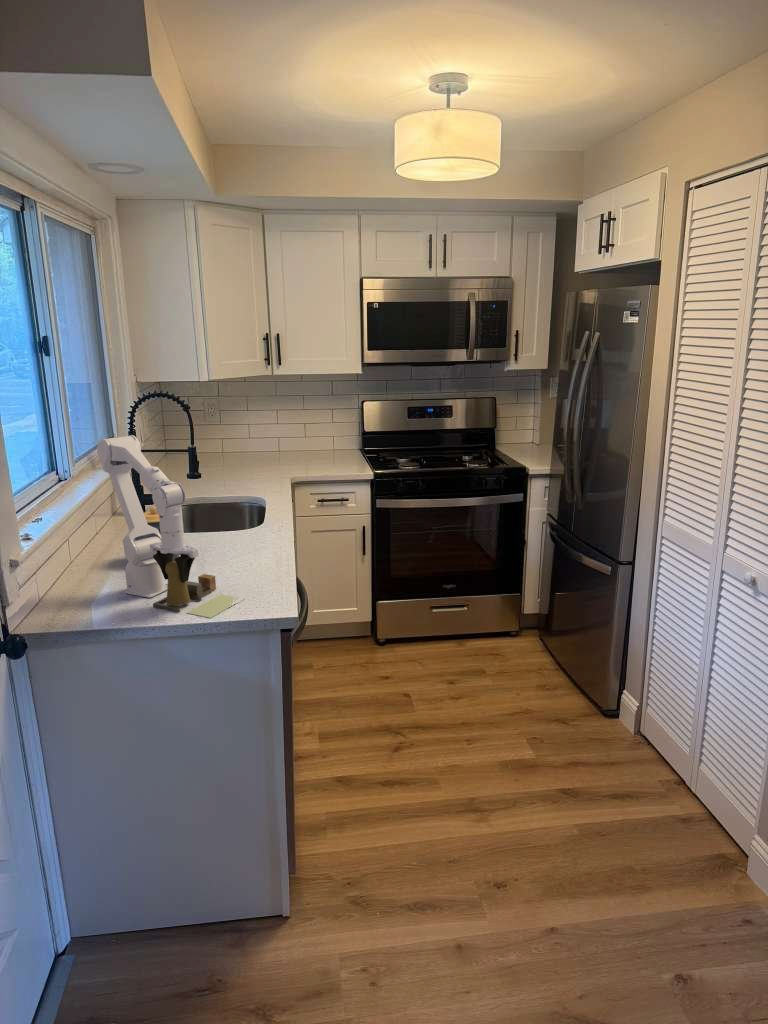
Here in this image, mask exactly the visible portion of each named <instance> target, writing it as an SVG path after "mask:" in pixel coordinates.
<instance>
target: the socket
mask: <svg viewBox="0 0 768 1024" xmlns="http://www.w3.org/2000/svg"><path fill="white" fill-rule="evenodd" d="M186 584H187V588H188V592H189V591H190V592H194V594H195V595H191V594H189V597H190V601H195V602H202V598H204V597H206V596H208V595H210V594H212V591H211V589H210V588H208V589H206V590H204V591H202V584H201V583H199V582H194V581H189V580H188V581H186ZM152 607H153V609H156V610H157V609H158V610H162V611H166V612H172V613H176V614H178V613H180V612H181V607H178V606H171V605H168V604H167V596H166V597H163V598H162V599H159V600H157V601H156V602H152Z"/></svg>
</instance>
